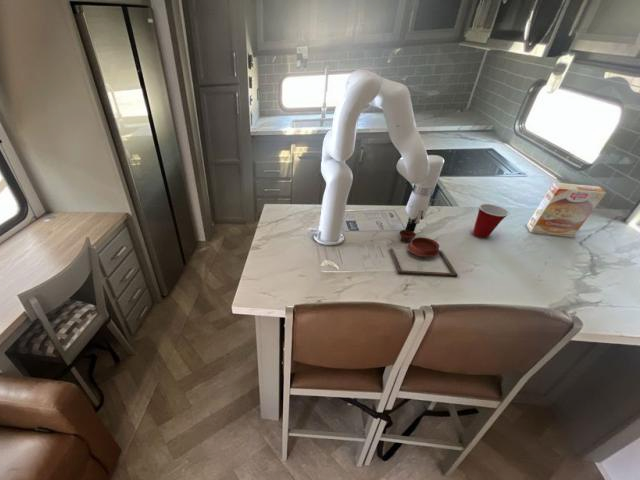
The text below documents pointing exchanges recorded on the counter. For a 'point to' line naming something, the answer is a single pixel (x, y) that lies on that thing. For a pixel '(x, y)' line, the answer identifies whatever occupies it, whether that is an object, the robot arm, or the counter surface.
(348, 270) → the counter surface
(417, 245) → the pottery
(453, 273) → the frame
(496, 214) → the plastic cup
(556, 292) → the counter surface
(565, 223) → the coffeecake box
